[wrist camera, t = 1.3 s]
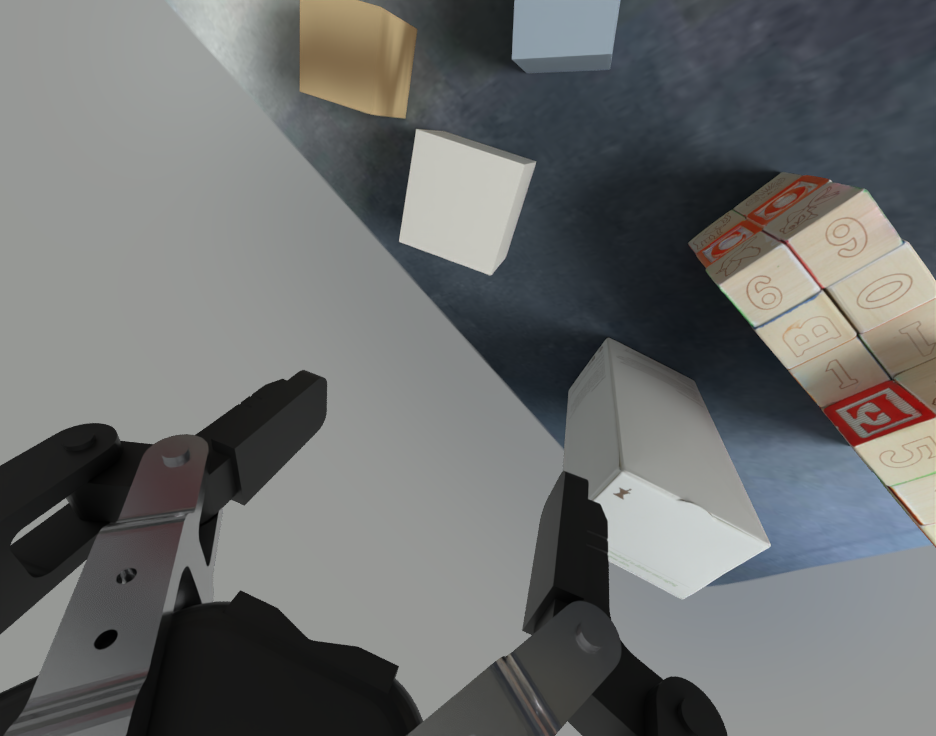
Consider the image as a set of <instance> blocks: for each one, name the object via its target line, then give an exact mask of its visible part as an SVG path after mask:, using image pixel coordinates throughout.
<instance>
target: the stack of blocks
mask: <svg viewBox="0 0 936 736" xmlns="http://www.w3.org/2000/svg"><path fill="white" fill-rule="evenodd" d="M688 245H689V246H690V248H691V249H692V250H693V251H694V252H695V254H696V256H697V258H698V259H699V260H700V261H701V263H702V264H703V265H704V267H705V268H706V270H705V271H706V272H707V274H708V275H709V276H710V277H711V279H712V280H713V281H714V283H715V284H716V285H717V286H718V287H719V289H720V290H721V291H722V292H723V293H724V294H725V295H726V297H727V298H728V299H729V300H730V301H731V303H732V304H733V305H734V306H735V307H736V308H737V309H738V311H739V312H740V313H741V314H742V316H743V317H744V318H745V319H746V321H747V322H748V323H749V324H750V326H751V327H752V328H753V329H754V331H755V332H756V333H757V334H758V336H759V337H760V338H761V339H762V340H763V341H764V343H765V344H766V345H767V346H768V347H769V348H770V350H771V351H772V352H773V353H774V354H775V355H776V357H777V358H778V359H779V360H780V361H781V363H782V364H783V365H784V366H785V367H786V368H787V370H788V371H789V372H790V373H791V375H792V376H793V377H794V378H795V379H796V381H797V382H798V383H799V384H800V385H801V386H802V387H803V389H804V390H805V391H806V392H807V393H808V394H809V395H810V396H811V398H812V399H813V400H814V401H815V402H816V403H817V404H818V406H819V407H820V408H821V409H822V412H823V413H824V414H825V415H826V416H827V417H828V418H829V420H830V421H831V422H832V423H833V425H834V426H835V427H836V428H837V430H838V431H839V432H840V433H841V435H842V436H843V437H844V438H845V440H846V441H847V442H848V443H849V445H850V446H851V447H852V448H853V449H854V451H855V452H856V453H857V454H858V456H859V457H860V458H861V459H862V461H863V462H864V463H865V464H866V465H867V467H868V468H869V469H870V470H871V471H872V472H873V473H875V475H876V476H877V477H878V478H879V480H880V482H881V483H882V484H883V485H884V487H885V488H886V489H887V490H888V492H889V493H890V494H891V495H892V497H893V498H894V499H895V500H896V501H897V503H898V504H899V505H900V506H901V507H902V509H903V510H904V511H905V512H906V513H907V515H908V516H909V517H910V518H911V519H912V521H913V522H914V523H915V524H916V525H917V526H918V528H919V529H920V530H921V531H922V532H923V533H924V534H925V536H926V537H927V538H928V539H929V540H930V541H931V543H932V544H933V545H934V546H935V547H936V280H935V279H934V277H933V276H932V274H931V273H930V272H929V270H928V269H927V267H926V266H925V264H924V263H923V262H922V260H921V259H920V257H919V256H918V255H917V253H916V252H915V250H914V249H913V248H912V246H911V245H910V244H909V242H907V241H905V240H903V239H901V238H900V236H899V235H898V233H897V232H896V230H895V229H894V227H893V226H892V224H891V223H890V222H889V220H888V219H887V218H886V216H885V215H884V213H883V212H882V210H881V209H880V208H879V206H878V205H877V203H876V202H875V200H874V199H873V198H872V196H871V195H870V193H869V192H868V191H867V190H866V189H863V188H859V187H855V186H849V185H843V184H839V183H833V182H832V181H831V180H830V179H827V178H821V177H816V176H809V175H804V176H803V175H800V174H794V173H787V172H782V173H780V174H779V175H778V176H776V177H775V178H774V179H772V180H771V181H770V182H768V183H767V184H765V185H764V186H763V187H761V188H760V189H759V190H758V191H756V192H755V193H754V194H752V195H751V196H749V197H748V198H747V199H745V200H744V201H743V202H741V203H740V204H739V205H737V206H736V207H735V208H734V209H732V210H730V211H729V212H727V213H726V214H725V215H723V216H722V217H720V218H719V219H718V220H716V221H715V222H714V223H712V224H711V225H710V226H708V227H707V228H706V229H704V230H703V231H702V232H701V233H699V234H698V235H697V236H696V237H694V238H693V239H692V240H691V241H689V243H688Z"/></svg>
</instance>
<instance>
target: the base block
mask: <svg viewBox="0 0 936 736" xmlns="http://www.w3.org/2000/svg"><path fill="white" fill-rule="evenodd" d="M535 165H536V161H533V160H530V159H527V158H524V157H521V156H518V155H515V154H512V153H509V152H506V151H503V150H500V149H497V148H494V147H491V146H488V145H485V144H482V143H478V142H475V141H472V140H469V139H466V138H463V137H460V136H457V135H454V134H451V133H448V132H445V131H436V130H423V129H416V134H415V141H414V147H413V154H412V160H411V167H410V173H409V180H408V186H407V193H406V199H405V206H404V212H403V219H402V225H401V232H400V238H399V242H401V243H404V244H407V245H409V246H412V247H415V248H417V249H420V250H423V251H426V252H428V253H431V254H434V255H436V256H439V257H442V258H445V259H447V260H450V261H453V262H456V263H458V264H461V265H464V266H466V267H469V268H472V269H475V270H477V271H480V272H483V273H485V274H488V275H492V274H493V272H494V271H495V270H496V269H497V268H498V266H499V265H500V264H501V263H502V262H503V261H504V259H505V258H506V255H507V252H508V249H509V246H510V243H511V240H512V236H513V233H514V230H515V227H516V224H517V221H518V218H519V215H520V211H521V208H522V205H523V202H524V199H525V196H526V193H527V190H528V187H529V183H530V180H531V177H532V174H533V171H534V168H535Z"/></svg>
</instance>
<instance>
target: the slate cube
mask: <svg viewBox="0 0 936 736" xmlns="http://www.w3.org/2000/svg"><path fill="white" fill-rule="evenodd" d="M619 6H620V0H515V1H514V23H513V45H512V60H513V61H514V62H515V63H516V64H517V65H518V66H519V67H521V68H522V69H523V70H524V71H525V72H526V73H548V72H570V71H592V70H610V66H611V59H612V52H613V46H614V39H615V32H616V26H617V19H618V12H619Z"/></svg>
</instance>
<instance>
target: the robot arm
mask: <svg viewBox="0 0 936 736" xmlns="http://www.w3.org/2000/svg"><path fill="white" fill-rule="evenodd" d="M326 412H327V381H326V379H325V378H323V377H320V376H318V375H316V374H313V373H310V372H308V371H305V370H302V371H300V372H298V373H297V374H295V375H294V376H293V377H291V378H290V379H289V380H284V379H281V380H278V381H275V382H272V383H269V384H267V385H265V386H263V387H262V388H260V389H259V390H258V391H256V392H255V393H253V394H252V396H251V397H250V396H249V397H248V398H246V399H245V400H244V401H242V402H241V404H240V405H239V404H238V405H237V406H235V407H234V408H232V409H231V410H230V411H228V412H227V413H226V414H224V415H223V416H221V417H220V418H219V419H217V420H216V421H214V422H213V423H212V424H210V425H209V426H208V427H206V428H205V429H203V430H202V431H200V432H199V433H197V434H196V435H188V434H186V435H175V436H171V437H168V438H165V439H163V440H160V441H158V442H157V443H155V444H144V443H135V442H125V441H120V439H119V437H118V434H117V432H116V430H115V429H114V428H113V427H111V426H109V425H106V424H99V423H90V424H83V425H78V426H74V427H71V428H68V429H65V430H63V431H61V432H59V433H57V434H55V435H53V436H52V437H50V438H48V439H46V440H44V441H43V442H41V443H40V444H37V445H36V446H34V447H32V448H30V449H29V450H27V451H25V452H23V453H22V454H20V455H19V456H16V457H15V458H13V459H11V460H10V461H8V462H6V463H4V464H3V465H1V466H0V634H1V633H2V632H3V631H5V630H6V629H7V628H8V627H9V626H11V625H12V624H13V623H14V622H15V621H16V620H17V619H19V618H20V617H21V616H22V615H23V614H24V613H25V612H27V611H28V610H29V609H30V608H31V607H32V606H34V605H35V604H36V603H37V602H38V601H39V600H40V599H42V598H43V597H44V596H45V595H46V594H47V593H49V592H50V591H51V590H52V589H53V588H54V587H55V586H57V585H58V584H59V583H60V582H61V581H62V580H63V579H65V578H66V577H67V576H68V575H69V574H70V573H72V572H73V571H74V570H75V569H76V568H77V567H79V566H80V565H81V564H82V563H83V562H84V561H85V560H87V561H86V563H85V565H84V568H83V570H82V573H81V575H80V577H79V580H78V582H77V585H76V587H75V589H74V592H73V594H72V597H71V599H70V601H69V604H68V606H67V609H66V611H65V614H64V616H63V618H62V621H61V623H60V626H59V628H58V631H57V633H56V635H55V638H54V640H53V643H52V645H51V647H50V650H49V652H48V654H47V657H46V659H45V662H44V664H43V667H42V669H41V671H40V674H39V675H38V676H36V677H34V678H32V679H30V680H28V681H25V682H23V683H21V684H19V685H17V686H15V687H13V688H10V689H9V690H6V691H4V692H2V693H0V736H555V735H556V734H557V732H558V731H559V730H560V729H561V728H562V727H563V726H564V724H565V723H566V722H567V721H568V722H569V723H570V724H571V725H572V726H573V727H574V728H575V729H576V730H577V731H578V732H579V733H580V734H581V735H582V736H727V732H726V729H725V726H724V723H723V721H722V719H721V716H720V715H719V713H718V711H717V710H716V707H715V706H714V705H713V703H712V702H711V700H710V699H709V698H708V697H707V696H706V694H705V693H704V692H703V691H702V690H700V689H699V688H698V687H697V686H696V685H694V684H693V683H691V682H690V681H688V680H686V679H683V678H680V677H669V678H666V679H665V680H663V679H662V678H661V677H659V676H658V675H657V674H656V673H654V672H653V671H652V670H651V669H649V668H648V667H647V666H646V665H645V664H644V663H642V662H641V661H640V660H639V659H637V658H636V657H635V656H634V655H633V654H632V653H631V652H630V651H629V650H628V649H627V648H626V647H625V646H624V644H623V643H622V641H621V640H620V638H619V634H618V632H617V630H616V627H615V626H614V624H613V622H612V621H611V617H610V612H609V568H608V567H609V564H608V541H607V539H608V521H607V518H606V516H605V514H604V511H603V509H602V506H601V504H600V503H597V502H594V501H592V500H589V499H588V489H589V482H588V480H587V479H585V478H582V477H579V476H577V475H574V474H571V473H569V472H566V471H563V472H562V473H561V475H560V476H559V479H558V480H557V482H556V484H555V486H554V488H553V490H552V491H551V494H550V495H549V497H548V499H547V501H546V503H545V506H544V509H543V512H542V515H541V519H540V524H539V531H538V537H537V543H536V549H535V555H534V561H533V568H532V574H531V580H530V587H529V593H528V599H527V605H526V611H525V617H524V624H523V631H524V632H526V633H529V634H531V635H532V636H531V637H530V638H528V639H527V640H526V641H525V642H524V643H522V644H521V645H520V646H519V647H518V648H517V649H515V650H514V651H513V652H512V653H510V654H509V655H508V656H506V657H505V656H503V657H501V658H500V659H498V660H497V661H495V662H494V663H493V664H492V665H490V666H489V667H488V668H487V669H486V670H485V671H483V672H482V673H481V674H480V675H478V676H477V677H476V678H475V679H474V680H472V681H471V682H470V683H469V684H468V685H466V686H465V687H464V688H463V689H462V690H461V691H459V692H458V693H457V694H456V695H454V696H453V697H452V698H451V699H450V700H448V701H447V702H446V703H445V704H444V705H442V706H441V707H440V708H439V709H438V710H436V711H435V712H434V713H433V714H432V715H431V716H429V717H428V718H427V719H426V720H425V721H423V720H422V717H421V715H420V713H419V710H418V708H417V706H416V704H415V703H414V701H413V699H412V697H411V696H410V695H409V693H408V692H407V691H406V689H405V688H404V687H403V686H402V685H401V684H400V683H399V682H398V681H397V680H396V679H395V677H396V674H397V670H398V667H399V666H397V665H395V664H393V663H391V662H389V661H387V660H385V659H382V658H380V657H378V656H376V655H374V654H372V653H370V652H368V651H366V650H364V649H362V648H359V647H356V646H348V645H341V644H333V643H326V642H318V641H313V640H310V639H308V638H307V637H306V636H305V635H304V634H303V633H302V632H301V631H300V630H299V629H298V628H297V627H296V626H295V625H294V624H293V623H292V622H291V621H290V620H289V619H288V618H287V617H286V616H285V615H284V614H283V613H282V612H281V611H280V610H279V609H278V608H276V607H274V606H272V605H270V604H268V603H266V602H264V601H261V600H259V599H257V598H255V597H253V596H251V595H249V594H247V593H245V592H243V591H240V592H239V593H238V594H237V595H236V596H235V598H234V599H233V600H232V601H231V602H213V595H214V591H213V572H214V565H215V558H216V552H217V546H218V539H219V533H220V527H221V520H222V513H223V510H222V508H223V507H224V506H225V505H226V504H227V503H228V502H229V500H233V501H236V502H238V503H240V504H242V505H245V504H246V503H247V502H248V501H249V500H250V499H251V498H252V497H253V496H254V495H255V494H256V493H257V492H258V491H259V490H260V489H261V488H262V487H263V486H264V485H265V484H266V483H267V482H268V481H269V480H270V479H271V478H272V477H273V476H274V475H275V474H276V473H277V472H278V471H279V470H280V469H281V468H282V467H283V466H284V465H285V464H286V463H287V462H288V461H289V460H290V459H291V458H292V457H293V456H294V455H295V453H297V452H298V451H299V450H300V449H301V448H302V447H303V446H304V445H305V443H306V442H308V441H309V440H310V438H312V437H313V436H314V435H315V433H316V432H317V431H318V430H319V429H320V428H321V426H322V425H323V423H324V420H325V418H326ZM65 498H66V499H67V500H68V502H69V503H68V504H67V505H66V506H64V507H63V508H62V509H60V510H59V511H57V512H56V513H55V514H53V515H52V516H51V517H49V518H48V519H46V520H45V521H44V522H42V523H41V524H40V525H38V526H37V527H35V528H34V529H33V530H31V531H30V532H29V533H27V534H26V535H24V536H23V537H22V538H20V539H19V540H17V541H16V542H15V543H13V544H12V545H11V542H12V540H13V538H14V537H15V536H16V534H17V533H18V532H19V531H20V530H21V529H23V528H24V527H25V526H27V525H28V524H30V523H31V522H32V521H34V520H35V519H37V518H38V517H39V516H41V515H42V514H44V513H45V512H47V511H48V510H49V509H51V508H52V507H53V506H55V505H56V504H58V503H59V502H61V501H62V500H63V499H65ZM10 545H11V546H10Z"/></svg>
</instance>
